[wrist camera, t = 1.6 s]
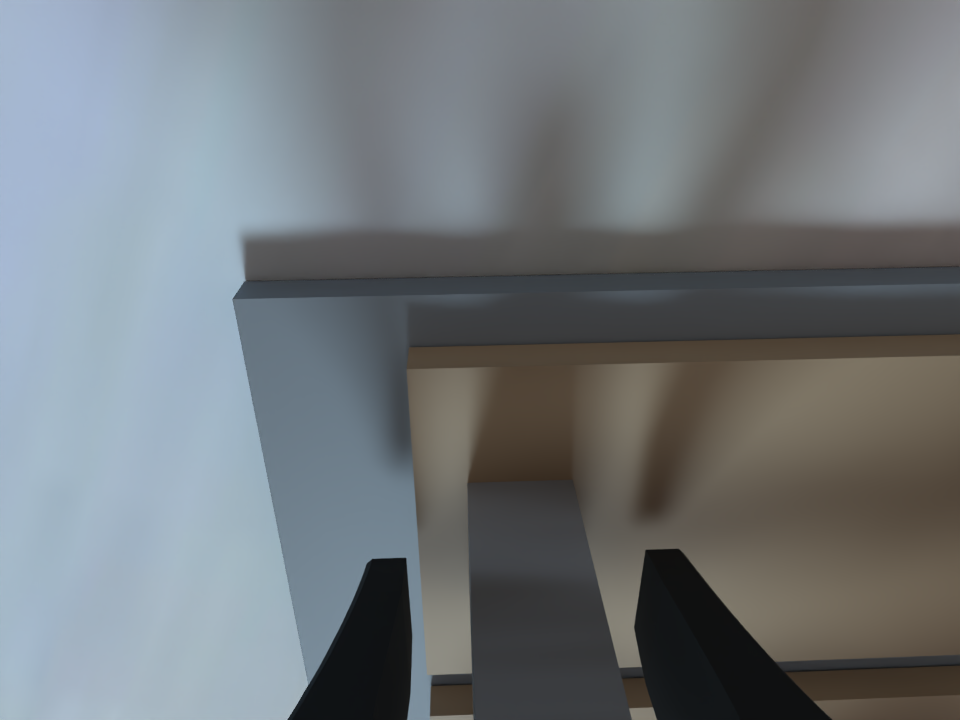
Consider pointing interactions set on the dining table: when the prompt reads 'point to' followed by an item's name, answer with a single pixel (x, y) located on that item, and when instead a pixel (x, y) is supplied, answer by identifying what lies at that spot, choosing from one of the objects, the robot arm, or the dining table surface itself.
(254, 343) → the lane board
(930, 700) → the strip
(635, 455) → the strip
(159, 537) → the dining table surface
